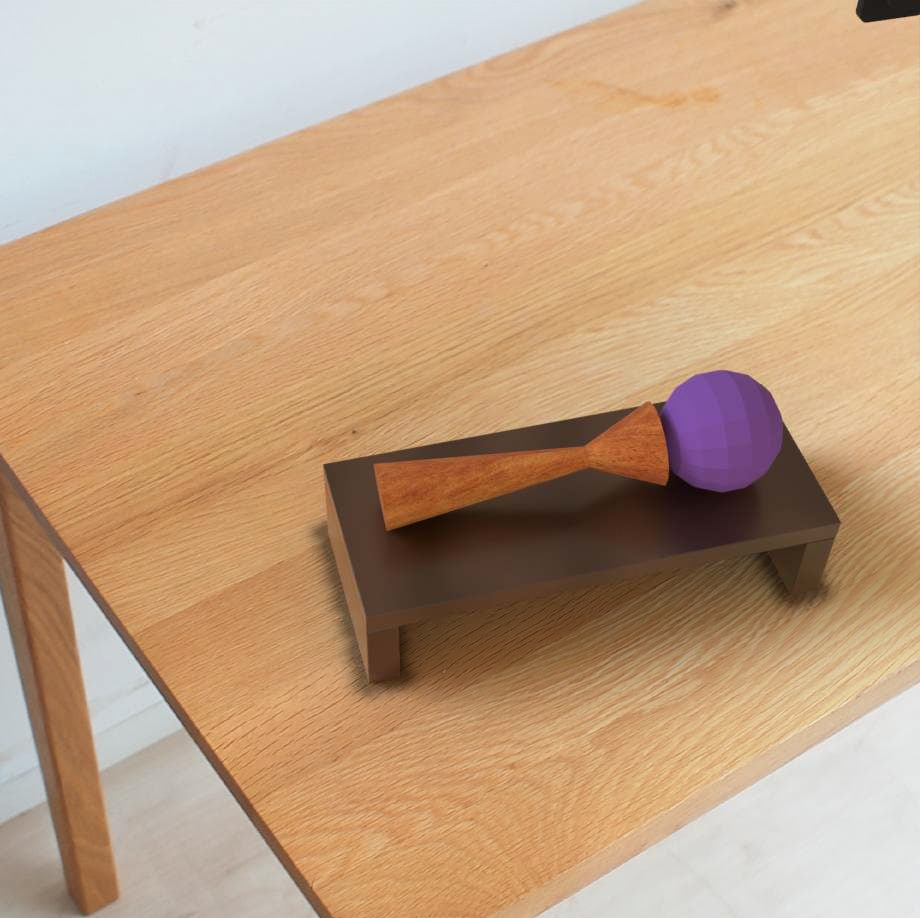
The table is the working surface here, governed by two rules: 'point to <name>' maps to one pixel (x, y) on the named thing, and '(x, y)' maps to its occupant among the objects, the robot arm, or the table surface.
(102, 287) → the table surface
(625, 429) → the kendama
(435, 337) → the table surface
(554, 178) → the table surface
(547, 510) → the shelf
